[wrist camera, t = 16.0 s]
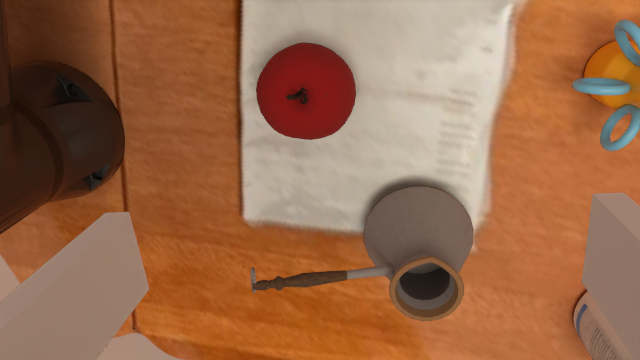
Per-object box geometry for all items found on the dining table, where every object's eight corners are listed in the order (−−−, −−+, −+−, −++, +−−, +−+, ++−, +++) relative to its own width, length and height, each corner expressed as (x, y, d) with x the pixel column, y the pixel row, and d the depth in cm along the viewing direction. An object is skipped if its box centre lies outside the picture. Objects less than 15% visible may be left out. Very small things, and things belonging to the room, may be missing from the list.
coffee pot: (477, 181, 51) (513, 254, 37) (459, 273, 56) (486, 368, 42) (279, 163, 53) (244, 227, 39) (277, 253, 57) (245, 339, 44)
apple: (278, 133, 52) (257, 165, 42) (258, 47, 49) (230, 63, 39) (364, 118, 50) (361, 149, 41) (348, 29, 47) (341, 40, 38)
